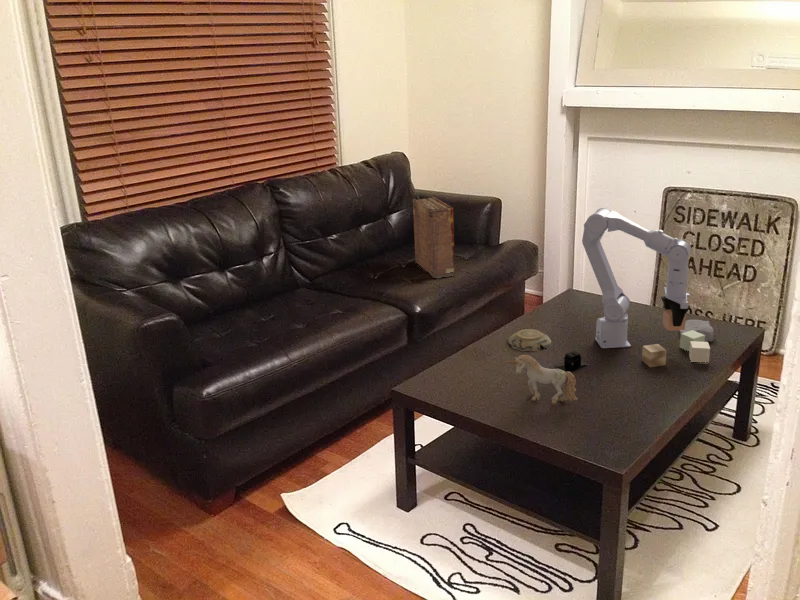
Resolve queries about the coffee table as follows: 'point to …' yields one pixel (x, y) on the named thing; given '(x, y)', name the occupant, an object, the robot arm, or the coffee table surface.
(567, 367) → the black boxy device
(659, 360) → the maple cube
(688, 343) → the sage cube
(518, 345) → the decorative bowl
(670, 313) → the terracotta cube
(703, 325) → the stone block
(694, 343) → the cream cube
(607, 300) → the robot arm
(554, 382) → the unicorn figurine
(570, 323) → the coffee table surface
